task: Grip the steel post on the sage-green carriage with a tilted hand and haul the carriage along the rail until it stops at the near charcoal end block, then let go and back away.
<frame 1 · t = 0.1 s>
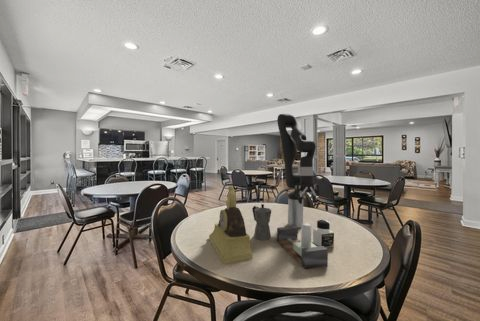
hand: (307, 203, 122), 17 cm above the table, tool pointing down, fingers open, 8 cm apart
carriage: (306, 238, 93), point 9 cm above the table, slide at 12.0 cm
decorative clock: (228, 248, 104), on the table
medicine bottle: (323, 244, 107), on the table
rail: (299, 252, 99), on the table
coffeepot: (261, 236, 118), on the table
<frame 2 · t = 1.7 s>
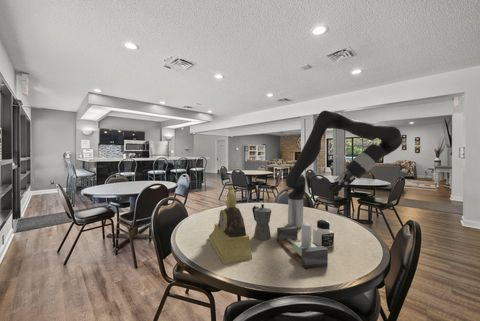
hand: (331, 190, 96), 29 cm above the table, tool tilted 45°, fingers open, 8 cm apart
nothing on the table moved.
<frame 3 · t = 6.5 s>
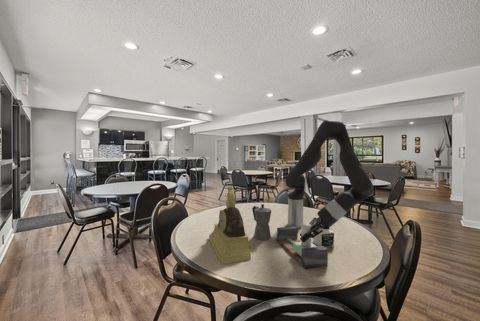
hand: (301, 238, 93), 9 cm above the table, tool tilted 45°, fingers closed on carriage, 4 cm apart
carriage: (306, 238, 93), point 9 cm above the table, slide at 12.0 cm, touching gripper
everything else where it was.
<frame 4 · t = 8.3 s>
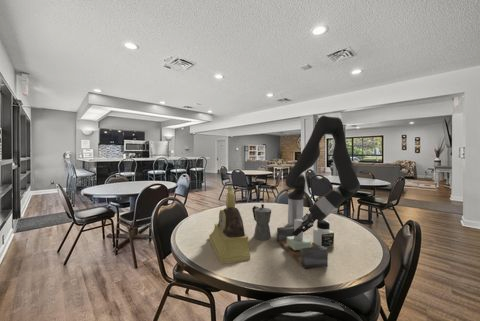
hand: (294, 232, 100), 9 cm above the table, tool tilted 45°, fingers closed on carriage, 4 cm apart
carriage: (298, 233, 100), point 9 cm above the table, slide at 5.1 cm, touching gripper
everything else where it was.
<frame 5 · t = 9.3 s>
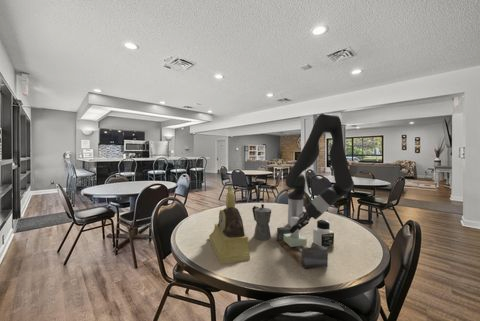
hand: (290, 230, 103), 9 cm above the table, tool tilted 45°, fingers closed on carriage, 4 cm apart
carriage: (294, 230, 103), point 9 cm above the table, slide at 1.5 cm, touching gripper
everything else where it was.
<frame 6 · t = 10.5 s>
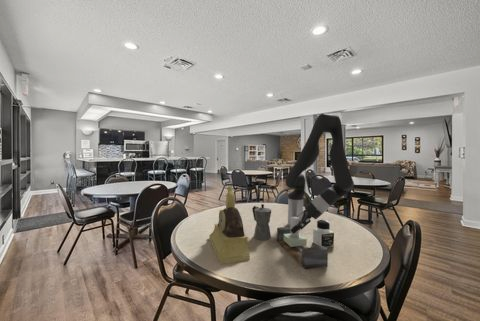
hand: (291, 228, 103), 9 cm above the table, tool tilted 45°, fingers open, 8 cm apart
carriage: (294, 230, 103), point 9 cm above the table, slide at 1.5 cm
everything else where it was.
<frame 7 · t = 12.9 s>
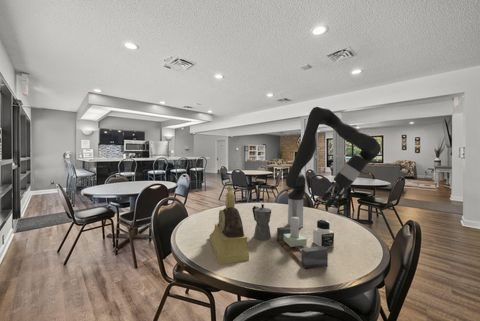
hand: (325, 203, 103), 22 cm above the table, tool tilted 35°, fingers open, 8 cm apart
nothing on the table moved.
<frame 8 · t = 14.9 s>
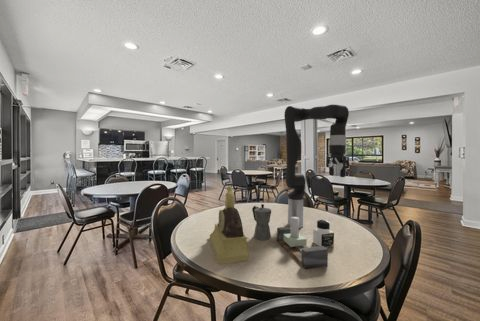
hand: (336, 176, 109), 34 cm above the table, tool pointing down, fingers open, 8 cm apart
at the end: carriage slide at 1.5 cm; the gripper is holding nothing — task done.
